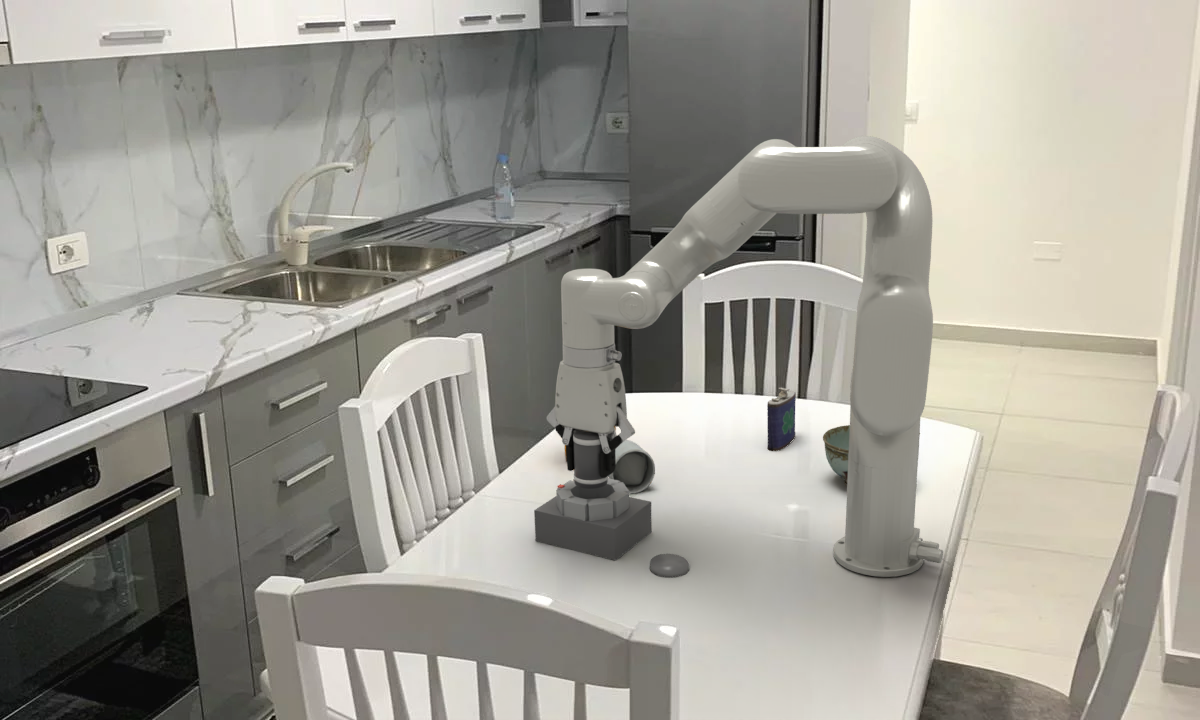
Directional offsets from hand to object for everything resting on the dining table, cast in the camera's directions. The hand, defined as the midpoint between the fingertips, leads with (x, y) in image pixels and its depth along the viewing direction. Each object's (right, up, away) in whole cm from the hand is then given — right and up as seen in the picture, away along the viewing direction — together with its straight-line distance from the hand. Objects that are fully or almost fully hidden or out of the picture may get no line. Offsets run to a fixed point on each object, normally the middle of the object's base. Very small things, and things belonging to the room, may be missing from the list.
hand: (590, 470), depth 172 cm
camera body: (0, -10, +3) cm, 11 cm away
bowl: (+45, -4, +21) cm, 50 cm away
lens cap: (+11, -13, -8) cm, 19 cm away
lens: (0, -2, +1) cm, 2 cm away
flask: (+35, +1, +39) cm, 52 cm away
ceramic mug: (+5, -5, +22) cm, 23 cm away
